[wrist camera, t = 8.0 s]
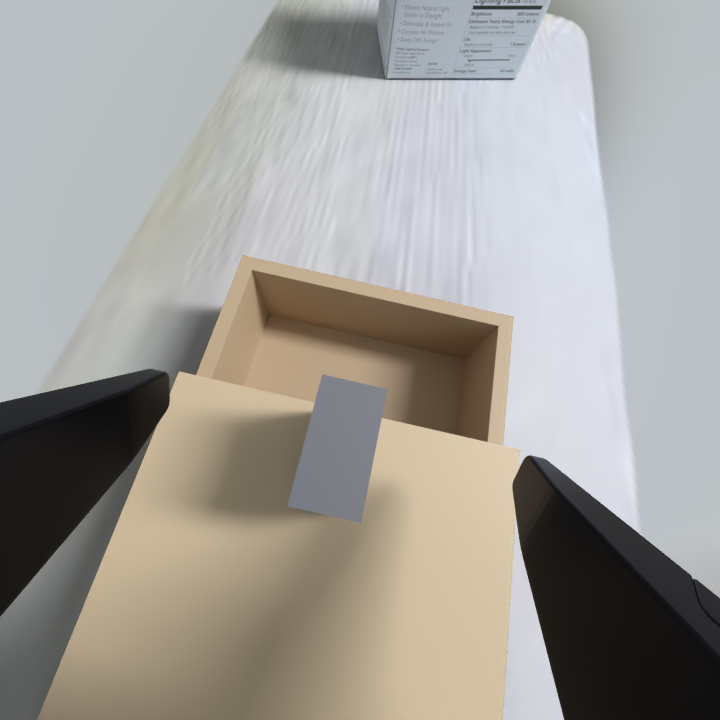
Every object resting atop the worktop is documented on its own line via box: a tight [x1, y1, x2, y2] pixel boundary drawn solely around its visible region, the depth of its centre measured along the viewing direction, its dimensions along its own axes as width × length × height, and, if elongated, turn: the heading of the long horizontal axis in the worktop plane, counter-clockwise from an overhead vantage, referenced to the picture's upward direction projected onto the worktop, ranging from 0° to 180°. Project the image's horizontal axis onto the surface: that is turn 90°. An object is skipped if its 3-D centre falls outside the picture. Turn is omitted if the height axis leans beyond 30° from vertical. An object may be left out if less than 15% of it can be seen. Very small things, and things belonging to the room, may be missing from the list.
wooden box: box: [196, 255, 513, 446], centre depth 16 cm, size 12×12×5 cm
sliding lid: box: [37, 372, 520, 720], centre depth 9 cm, size 12×12×5 cm
